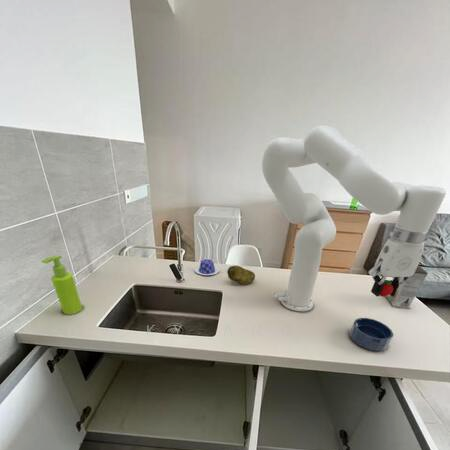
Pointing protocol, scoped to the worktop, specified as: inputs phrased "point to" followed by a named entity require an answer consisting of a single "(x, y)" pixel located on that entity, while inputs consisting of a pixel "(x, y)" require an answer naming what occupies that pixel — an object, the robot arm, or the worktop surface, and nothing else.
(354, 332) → the dessert bowl
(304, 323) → the worktop surface
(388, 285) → the strawberry
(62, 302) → the soap dispenser
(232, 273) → the potato
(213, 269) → the pudding
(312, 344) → the worktop surface
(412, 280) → the coffee box
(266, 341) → the worktop surface
